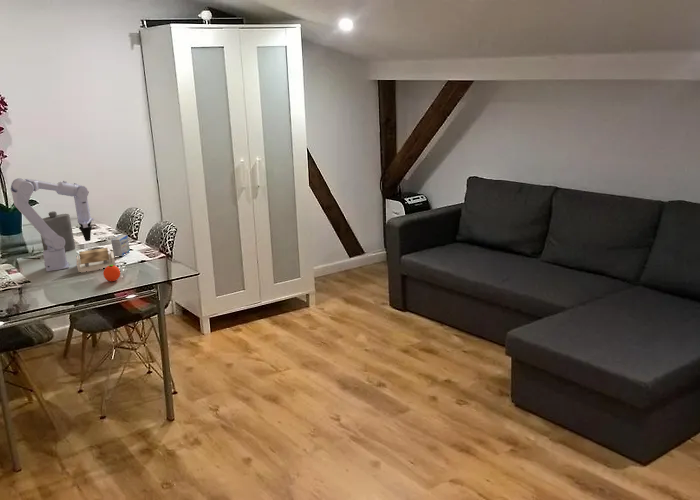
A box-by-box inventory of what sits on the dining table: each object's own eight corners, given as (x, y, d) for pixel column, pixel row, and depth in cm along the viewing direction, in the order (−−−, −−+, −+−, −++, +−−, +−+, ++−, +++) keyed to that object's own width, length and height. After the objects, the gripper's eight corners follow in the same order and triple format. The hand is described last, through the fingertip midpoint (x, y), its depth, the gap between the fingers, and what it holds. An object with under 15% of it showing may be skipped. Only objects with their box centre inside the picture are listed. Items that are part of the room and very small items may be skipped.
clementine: (107, 277, 304) (105, 262, 302) (123, 276, 304) (121, 261, 302) (102, 284, 296) (100, 268, 294) (119, 283, 297) (116, 267, 294)
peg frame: (78, 272, 311) (76, 263, 310) (78, 265, 321) (76, 256, 319) (115, 267, 316) (114, 257, 315) (114, 259, 326) (112, 250, 325)
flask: (71, 246, 349) (64, 207, 342) (77, 248, 345) (70, 209, 338) (42, 254, 339) (34, 214, 332) (47, 256, 335) (39, 216, 328)
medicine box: (122, 257, 329) (119, 239, 326) (113, 257, 330) (110, 239, 327) (130, 251, 336) (127, 234, 334) (122, 251, 337) (119, 234, 335)
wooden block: (81, 263, 313) (79, 254, 312) (81, 261, 317) (79, 251, 316) (109, 259, 317) (107, 250, 316) (108, 257, 321) (107, 247, 319)
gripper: (92, 213, 317) (97, 241, 321) (91, 205, 330) (96, 233, 334) (76, 215, 314) (81, 243, 319) (75, 207, 327) (80, 235, 332)
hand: (87, 238), depth 326 cm, fingers open, 7 cm apart
